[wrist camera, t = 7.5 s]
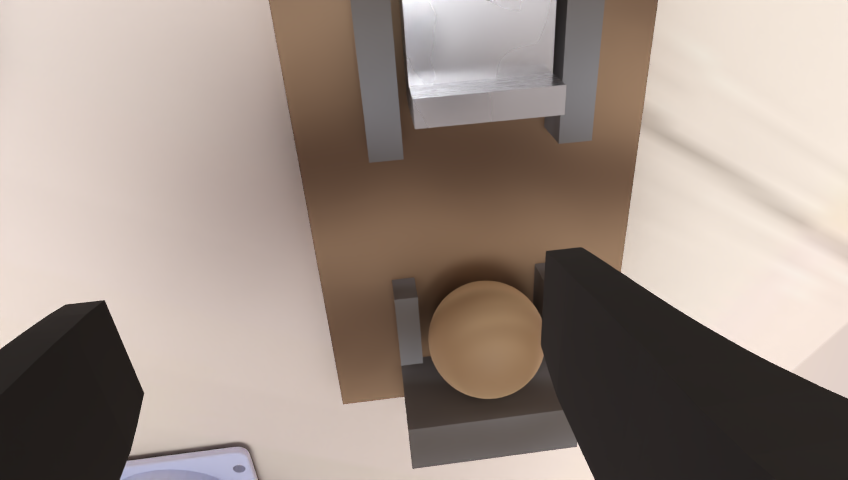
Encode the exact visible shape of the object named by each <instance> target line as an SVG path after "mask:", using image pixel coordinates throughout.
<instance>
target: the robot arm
mask: <svg viewBox="0 0 848 480" xmlns="http://www.w3.org/2000/svg"><path fill="white" fill-rule="evenodd" d="M541 348H542V351H543V354H544V358H545V361H546V364H547V368H548V371H549V374H550V377H551V380H552V383H553V386H554V390H555V393H556V396H557V398H558V400H559V403H560V405H561V407H562V409H563V412H564V414H565V416H566V418H567V420H568V422H569V425H570V427H571V429H572V431H573V433H574V436H575V438H576V440H577V442H578V444H579V446H580V449H581V451H582V453H583V455H584V457H585V459H586V461H587V464H588V466H589V468H590V470H591V472H592V474H593V477H594V479H595V480H848V399H847V398H845V397H843V396H841V395H838V394H836V393H834V392H832V391H829V390H827V389H825V388H823V387H820V386H818V385H816V384H814V383H812V382H810V381H808V380H806V379H804V378H802V377H800V376H798V375H796V374H794V373H791V372H789V371H787V370H785V369H783V368H781V367H779V366H777V365H775V364H773V363H771V362H769V361H767V360H765V359H763V358H761V357H759V356H757V355H755V354H754V353H752V352H750V351H748V350H746V349H744V348H742V347H741V346H739V345H737V344H735V343H734V342H732V341H730V340H728V339H726V338H725V337H723V336H721V335H719V334H718V333H716V332H714V331H712V330H711V329H709V328H707V327H705V326H704V325H702V324H700V323H699V322H697V321H695V320H694V319H692V318H690V317H689V316H687V315H686V314H684V313H682V312H681V311H679V310H677V309H676V308H674V307H673V306H671V305H670V304H668V303H666V302H665V301H663V300H662V299H660V298H659V297H657V296H656V295H654V294H652V293H651V292H649V291H648V290H646V289H645V288H643V287H642V286H640V285H639V284H637V283H636V282H634V281H633V280H631V279H630V278H628V277H627V276H625V275H624V274H622V273H621V272H619V271H618V270H616V269H615V268H613V267H612V266H610V265H609V264H607V263H606V262H605V261H603V260H601V259H600V258H598V257H597V256H595V255H594V254H592V253H591V252H589V251H587V250H586V249H584V248H582V247H577V248H568V249H559V250H550V251H546V257H545V275H544V293H543V311H542V329H541ZM143 396H144V392H143V390H142V387H141V385H140V383H139V380H138V378H137V376H136V373H135V371H134V368H133V366H132V364H131V361H130V359H129V357H128V354H127V352H126V350H125V347H124V345H123V343H122V340H121V338H120V336H119V333H118V331H117V328H116V326H115V324H114V321H113V319H112V317H111V314H110V312H109V310H108V307H107V305H106V303H105V300H103V301H94V302H85V303H76V304H67V305H64V306H63V307H61V308H59V309H58V310H56V311H54V312H53V313H51V314H49V315H48V316H46V317H45V318H43V319H42V320H41V321H39V322H38V323H36V324H35V325H33V326H32V327H30V328H29V329H28V330H26V331H25V332H23V333H22V334H21V335H19V336H18V337H16V338H15V339H14V340H12V341H11V342H10V343H8V344H7V345H5V346H4V347H3V348H1V349H0V480H258V478H257V475H256V472H255V469H254V466H253V463H252V460H251V456H250V453H249V452H248V450H246V449H245V448H243V447H230V448H222V449H215V450H207V451H199V452H191V453H184V454H176V455H168V456H160V457H153V458H145V459H137V460H129V461H127V459H128V457H129V454H130V451H131V447H132V443H133V439H134V435H135V432H136V428H137V423H138V419H139V414H140V410H141V405H142V400H143Z"/></svg>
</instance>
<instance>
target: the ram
mask: <svg viewBox="0 0 848 480" xmlns="http://www.w3.org/2000/svg"><path fill="white" fill-rule="evenodd" d="M556 1H557V0H399V3H400V16H401V29H402V42H403V55H404V69H405V82H406V95H407V103H408V107H409V110H410V114H411V117H412V121H413V124H414V128H415V129H423V128H433V127H444V126H454V125H464V124H475V123H485V122H495V121H506V120H516V119H526V118H537V117H547V116H558V115H565V100H566V84H565V83H564V82H563V81H561V80H560V79H559V78H558V77H557V76H556V75H555V74H553V57H554V38H555V19H556Z"/></svg>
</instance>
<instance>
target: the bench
mask: <svg viewBox="0 0 848 480" xmlns="http://www.w3.org/2000/svg"><path fill="white" fill-rule="evenodd" d="M657 3H658V0H557V1H556V19H555V38H554V57H553V74H555V75H556V76H557V77H558V78H559V79H560V80H561V81H563V82H564V83H565V84H566V100H565V115H558V116H547V117H537V118H526V119H516V120H506V121H495V122H485V123H475V124H464V125H454V126H444V127H433V128H423V129H415V128H414V124H413V121H412V117H411V114H410V110H409V107H408V103H407V95H406V82H405V69H404V55H403V42H402V29H401V16H400V3H399V0H269V4H270V9H271V15H272V20H273V26H274V31H275V37H276V42H277V47H278V53H279V58H280V64H281V69H282V75H283V80H284V85H285V91H286V96H287V102H288V107H289V113H290V118H291V123H292V129H293V134H294V140H295V145H296V151H297V156H298V161H299V167H300V172H301V178H302V183H303V189H304V194H305V199H306V205H307V210H308V216H309V221H310V227H311V232H312V237H313V243H314V248H315V254H316V259H317V265H318V270H319V275H320V281H321V286H322V292H323V297H324V303H325V308H326V313H327V319H328V324H329V330H330V335H331V341H332V346H333V351H334V357H335V362H336V368H337V373H338V379H339V384H340V389H341V395H342V400H343V404H349V403H357V402H365V401H373V400H381V399H389V398H397V397H405V405H406V414H407V423H408V432H409V441H410V450H411V459H412V468H413V469H414V468H422V467H429V466H437V465H444V464H451V463H459V462H466V461H474V460H481V459H489V458H496V457H504V456H511V455H519V454H526V453H533V452H541V451H548V450H556V449H563V448H571V447H577V440H576V438H575V436H574V433H573V431H572V429H571V427H570V425H569V422H568V420H567V418H566V416H565V414H564V412H563V409H562V407H561V405H560V403H559V400H558V398H557V396H556V393H555V390H554V386H553V383H552V380H551V377H550V374H549V371H548V368H547V364H546V361H545V358H544V356H543V360H542V363H541V365H540V367H539V369H538V371H537V372H536V374H535V375H534V377H533V378H532V379H531V380H530V381H529V382H528V383H527V384H526V385H525V386H524V387H522V388H521V389H520V390H518V391H516V392H514V393H512V394H510V395H507V396H504V397H501V398H495V399H482V398H476V397H472V396H469V395H466V394H464V393H462V392H460V391H458V390H456V389H455V388H453V387H452V386H451V385H450V384H448V383H447V382H446V381H445V380H444V378H443V377H442V376H441V375H440V373H439V372H438V371H437V369H436V367H435V365H434V363H433V360H432V358H431V354H430V350H429V342H428V334H429V327H430V323H431V320H432V317H433V314H434V312H435V311H436V309H437V307H438V306H439V304H440V303H441V301H442V300H443V299H444V298H445V297H446V296H447V295H448V294H450V293H451V292H452V291H454V290H455V289H457V288H459V287H460V286H462V285H465V284H467V283H471V282H475V281H496V282H501V283H504V284H507V285H509V286H512V287H514V288H515V289H517V290H519V291H520V292H521V293H523V294H524V295H525V296H526V297H527V298H528V299H529V300H530V301H531V302H532V303H533V304H534V306H535V307H536V309H537V311H538V312H539V314H540V316H541V319H542V311H543V293H544V275H545V257H546V251H550V250H559V249H568V248H577V247H582V248H584V249H586V250H587V251H589V252H591V253H592V254H594V255H595V256H597V257H598V258H600V259H601V260H603V261H605V262H606V263H607V264H609V265H610V266H612V267H613V268H615V269H616V270H618V271H619V272H621V265H622V258H623V251H624V244H625V236H626V229H627V222H628V214H629V207H630V200H631V193H632V185H633V178H634V171H635V164H636V156H637V149H638V142H639V134H640V127H641V120H642V113H643V105H644V98H645V91H646V83H647V76H648V69H649V62H650V54H651V47H652V40H653V32H654V25H655V18H656V11H657Z"/></svg>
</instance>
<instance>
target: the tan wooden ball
mask: <svg viewBox="0 0 848 480" xmlns="http://www.w3.org/2000/svg"><path fill="white" fill-rule="evenodd" d="M541 329H542V319H541V316H540V314H539V312H538V311H537V309H536V307H535V306H534V304H533V303H532V302H531V301H530V300H529V299H528V298H527V297H526V296H525V295H524V294H523V293H521V292H520V291H519V290H517V289H515V288H514V287H512V286H509V285H507V284H504V283H501V282H496V281H475V282H471V283H467V284H465V285H462V286H460V287H459V288H457V289H455V290H454V291H452V292H451V293H450V294H448V295H447V296H446V297H445V298H444V299H443V300H442V301H441V303H440V304H439V306H438V307H437V309H436V311H435V312H434V314H433V317H432V320H431V323H430V327H429V334H428V342H429V350H430V354H431V358H432V360H433V363H434V365H435V367H436V369H437V371H438V372H439V373H440V375H441V376H442V377H443V378H444V380H445V381H446V382H447V383H448V384H450V385H451V386H452V387H453V388H455V389H456V390H458V391H460V392H462V393H464V394H466V395H469V396H472V397H476V398H482V399H495V398H501V397H504V396H507V395H510V394H512V393H514V392H516V391H518V390H520V389H521V388H522V387H524V386H525V385H526V384H527V383H528V382H529V381H530V380H531V379H532V378H533V377H534V375H535V374H536V372H537V371H538V369H539V367H540V365H541V363H542V360H543V356H544V354H543V351H542V348H541Z"/></svg>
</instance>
